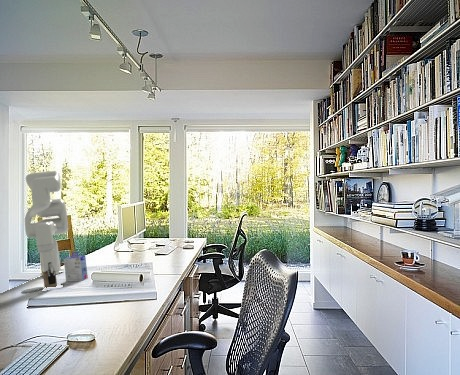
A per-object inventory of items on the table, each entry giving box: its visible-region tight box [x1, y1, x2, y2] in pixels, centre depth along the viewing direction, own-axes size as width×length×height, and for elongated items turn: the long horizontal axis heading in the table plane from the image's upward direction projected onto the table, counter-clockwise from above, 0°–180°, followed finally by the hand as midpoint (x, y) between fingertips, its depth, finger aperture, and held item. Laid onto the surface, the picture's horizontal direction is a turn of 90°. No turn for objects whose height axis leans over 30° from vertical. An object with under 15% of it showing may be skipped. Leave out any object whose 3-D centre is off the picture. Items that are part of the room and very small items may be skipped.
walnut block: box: [42, 271, 58, 288], centre depth 225 cm, size 5×5×8 cm
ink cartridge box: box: [63, 251, 89, 283], centre depth 237 cm, size 10×6×14 cm, turn 78°
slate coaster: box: [20, 286, 44, 295], centre depth 223 cm, size 10×10×1 cm
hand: (50, 282), depth 225 cm, fingers open, 9 cm apart
